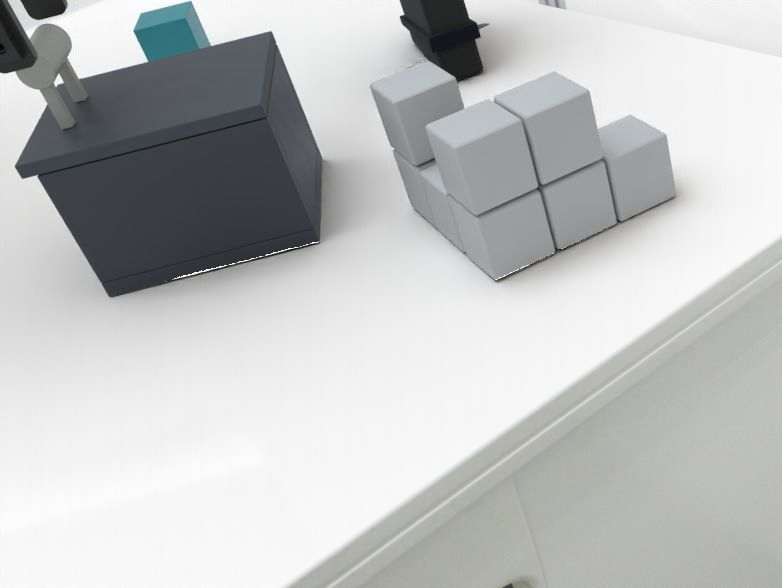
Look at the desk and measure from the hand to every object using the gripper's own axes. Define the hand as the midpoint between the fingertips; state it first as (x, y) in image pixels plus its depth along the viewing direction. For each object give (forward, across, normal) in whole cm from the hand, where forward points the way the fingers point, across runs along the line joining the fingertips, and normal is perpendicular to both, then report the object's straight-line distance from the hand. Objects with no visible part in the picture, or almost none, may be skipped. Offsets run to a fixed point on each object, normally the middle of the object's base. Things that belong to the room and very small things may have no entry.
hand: (36, 40), depth 61 cm
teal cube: (+13, -32, -1) cm, 35 cm away
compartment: (+13, 0, +5) cm, 14 cm away
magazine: (+13, -20, +21) cm, 32 cm away
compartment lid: (+5, 0, +5) cm, 7 cm away
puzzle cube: (+13, +8, +25) cm, 29 cm away
